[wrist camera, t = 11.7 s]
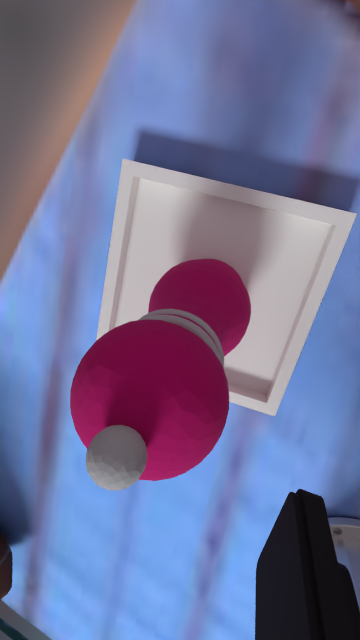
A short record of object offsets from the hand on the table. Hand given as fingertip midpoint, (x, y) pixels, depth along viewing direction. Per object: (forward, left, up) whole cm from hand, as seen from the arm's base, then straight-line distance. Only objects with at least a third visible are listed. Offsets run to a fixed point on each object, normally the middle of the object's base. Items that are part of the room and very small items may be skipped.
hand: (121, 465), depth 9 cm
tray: (0, 0, -20) cm, 20 cm away
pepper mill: (0, 0, -20) cm, 19 cm away
